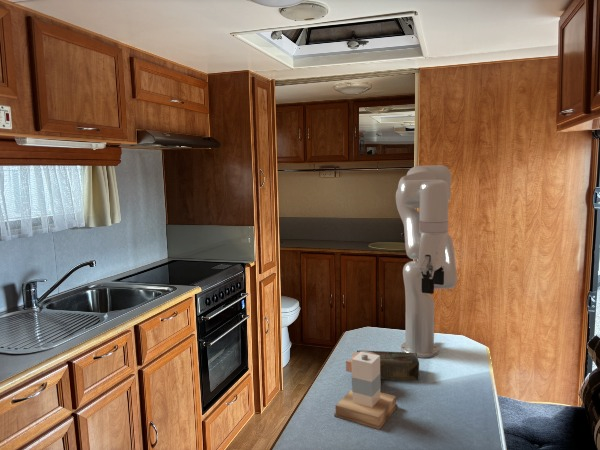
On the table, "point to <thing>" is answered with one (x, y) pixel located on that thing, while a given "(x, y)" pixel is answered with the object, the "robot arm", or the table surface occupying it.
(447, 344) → the table surface
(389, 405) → the plinth
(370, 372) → the slim carton
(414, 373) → the beverage carton
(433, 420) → the table surface
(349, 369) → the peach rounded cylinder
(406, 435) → the table surface
